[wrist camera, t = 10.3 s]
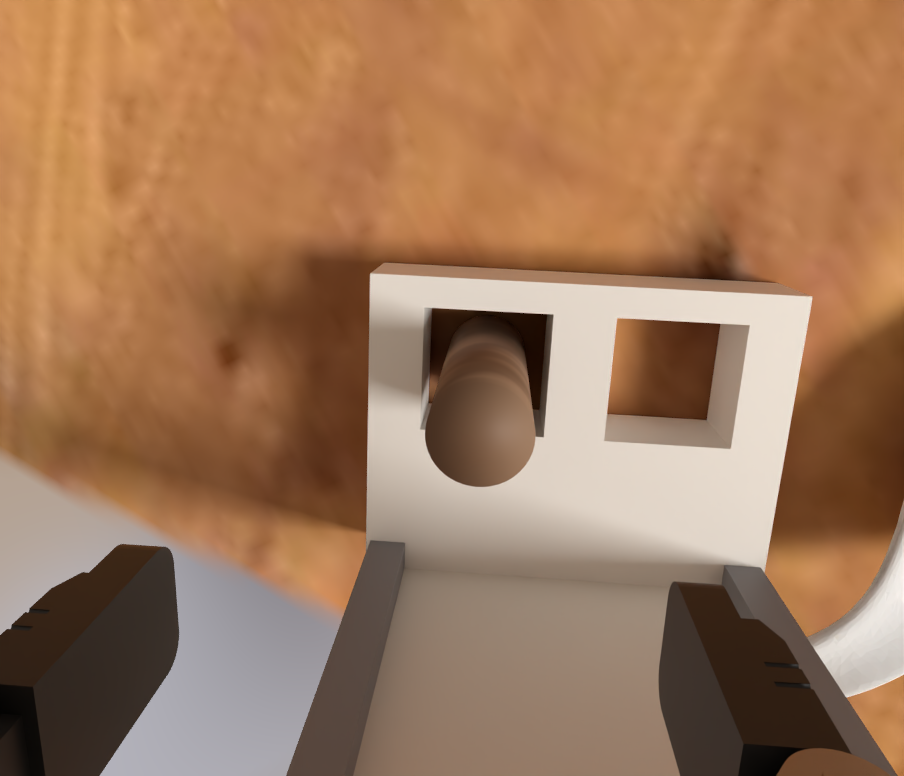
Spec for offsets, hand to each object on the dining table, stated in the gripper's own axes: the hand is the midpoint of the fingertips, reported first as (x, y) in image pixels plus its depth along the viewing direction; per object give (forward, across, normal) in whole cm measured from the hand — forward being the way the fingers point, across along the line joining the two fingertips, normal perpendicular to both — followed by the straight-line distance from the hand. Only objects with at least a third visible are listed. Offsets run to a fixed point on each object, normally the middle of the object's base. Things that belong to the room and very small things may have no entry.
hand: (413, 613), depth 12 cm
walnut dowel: (+25, -1, +2) cm, 25 cm away
